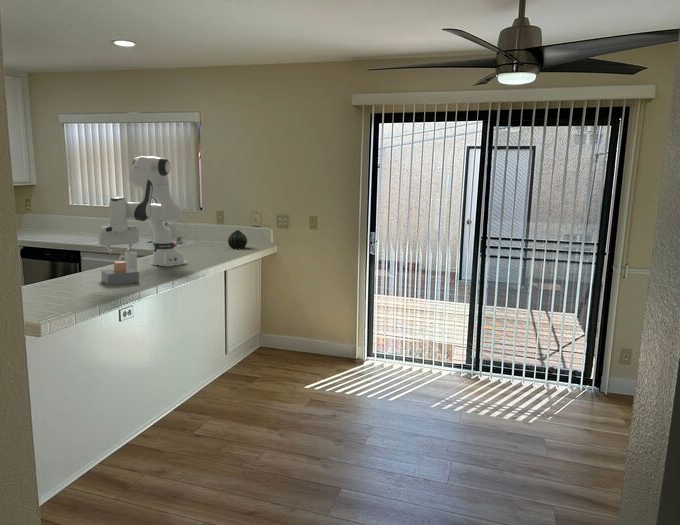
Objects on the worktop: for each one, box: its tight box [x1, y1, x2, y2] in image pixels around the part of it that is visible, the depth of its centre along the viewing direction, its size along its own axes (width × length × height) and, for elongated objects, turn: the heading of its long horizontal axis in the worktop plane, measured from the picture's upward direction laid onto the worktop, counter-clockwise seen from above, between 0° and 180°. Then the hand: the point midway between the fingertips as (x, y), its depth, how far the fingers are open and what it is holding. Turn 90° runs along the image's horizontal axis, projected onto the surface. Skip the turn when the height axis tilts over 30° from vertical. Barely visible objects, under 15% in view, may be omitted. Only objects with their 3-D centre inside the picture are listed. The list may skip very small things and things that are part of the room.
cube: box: [113, 260, 126, 272], centre depth 282 cm, size 5×5×5 cm
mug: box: [118, 251, 138, 271], centre depth 306 cm, size 10×7×12 cm, turn 107°
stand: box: [100, 268, 140, 286], centre depth 283 cm, size 16×12×6 cm
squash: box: [227, 229, 248, 249], centre depth 413 cm, size 14×15×15 cm
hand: (119, 252), depth 281 cm, fingers open, 8 cm apart
